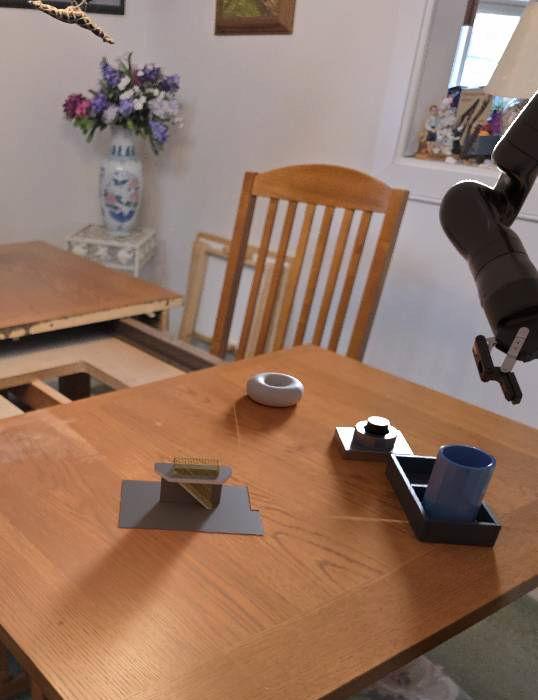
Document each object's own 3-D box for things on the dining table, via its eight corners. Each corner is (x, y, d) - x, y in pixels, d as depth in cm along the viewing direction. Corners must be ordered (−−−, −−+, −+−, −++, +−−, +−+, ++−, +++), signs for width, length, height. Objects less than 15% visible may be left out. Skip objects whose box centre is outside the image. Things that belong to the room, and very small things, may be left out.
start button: (384, 427, 107) (386, 417, 106) (389, 437, 105) (392, 426, 104) (363, 426, 107) (365, 415, 106) (367, 435, 105) (370, 424, 104)
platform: (264, 534, 87) (272, 488, 83) (118, 527, 87) (120, 480, 83) (253, 486, 97) (260, 443, 93) (122, 479, 97) (124, 436, 93)
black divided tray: (448, 477, 102) (455, 457, 100) (493, 547, 87) (502, 526, 85) (384, 472, 102) (390, 453, 100) (418, 541, 87) (425, 520, 86)
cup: (462, 507, 93) (484, 445, 88) (480, 534, 88) (504, 471, 83) (412, 503, 93) (431, 442, 88) (426, 530, 88) (448, 467, 83)
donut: (249, 384, 128) (240, 404, 120) (252, 366, 126) (243, 385, 118) (304, 393, 126) (299, 413, 118) (308, 374, 124) (302, 394, 116)
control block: (397, 440, 111) (403, 420, 109) (410, 464, 104) (417, 443, 102) (333, 436, 111) (338, 416, 109) (343, 460, 105) (348, 439, 103)
